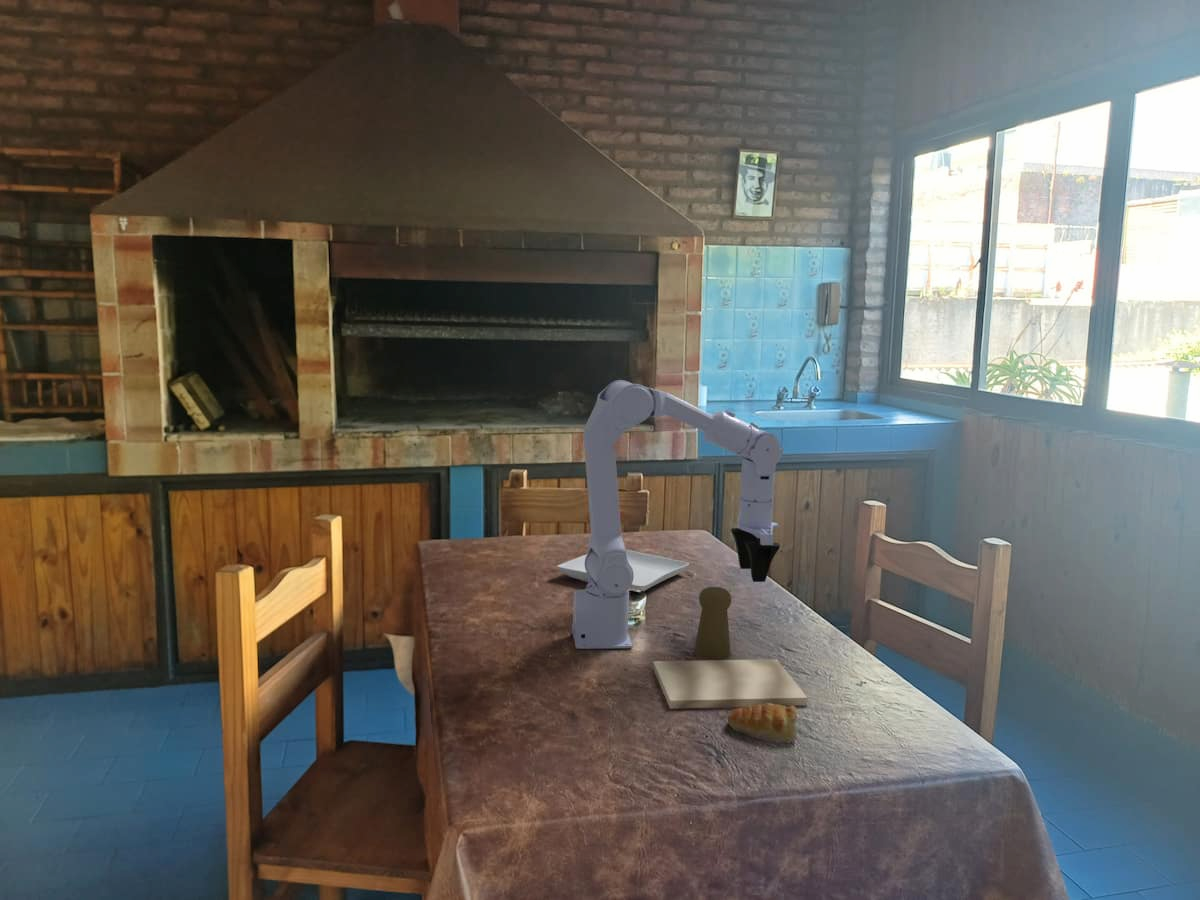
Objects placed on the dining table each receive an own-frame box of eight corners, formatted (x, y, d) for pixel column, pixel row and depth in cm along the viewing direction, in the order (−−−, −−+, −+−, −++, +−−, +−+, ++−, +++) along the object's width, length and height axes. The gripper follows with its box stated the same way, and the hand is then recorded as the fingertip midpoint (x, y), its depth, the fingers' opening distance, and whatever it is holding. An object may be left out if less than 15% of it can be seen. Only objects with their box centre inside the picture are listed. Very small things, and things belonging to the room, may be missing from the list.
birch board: (670, 708, 121) (670, 700, 120) (653, 668, 134) (653, 661, 134) (806, 705, 123) (807, 697, 123) (776, 666, 137) (776, 659, 136)
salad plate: (690, 576, 185) (691, 561, 185) (642, 601, 167) (642, 584, 167) (607, 559, 196) (608, 544, 196) (554, 581, 178) (554, 565, 178)
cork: (690, 646, 144) (693, 583, 143) (726, 645, 145) (729, 583, 143) (698, 660, 138) (701, 594, 137) (734, 659, 139) (738, 594, 137)
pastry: (725, 738, 113) (727, 711, 112) (728, 716, 120) (730, 690, 119) (798, 747, 111) (800, 719, 111) (797, 724, 118) (799, 698, 117)
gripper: (792, 508, 142) (787, 587, 144) (766, 490, 156) (762, 562, 158) (751, 508, 141) (747, 587, 143) (728, 490, 155) (724, 563, 157)
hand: (752, 574), depth 150 cm, fingers open, 7 cm apart
